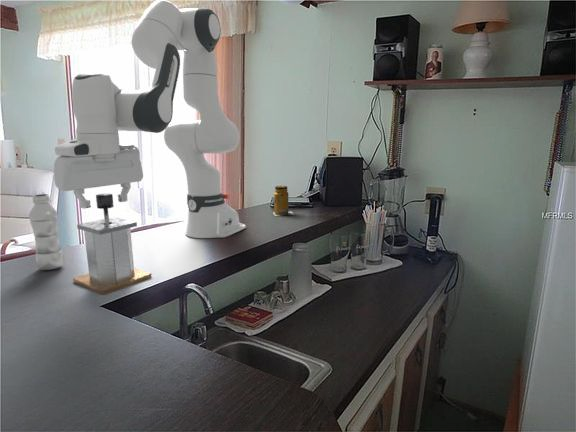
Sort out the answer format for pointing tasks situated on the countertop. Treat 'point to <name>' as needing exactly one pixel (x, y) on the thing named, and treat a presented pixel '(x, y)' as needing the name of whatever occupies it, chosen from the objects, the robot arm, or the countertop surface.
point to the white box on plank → (109, 256)
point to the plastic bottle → (45, 233)
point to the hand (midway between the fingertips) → (105, 204)
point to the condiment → (281, 201)
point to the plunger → (105, 204)
